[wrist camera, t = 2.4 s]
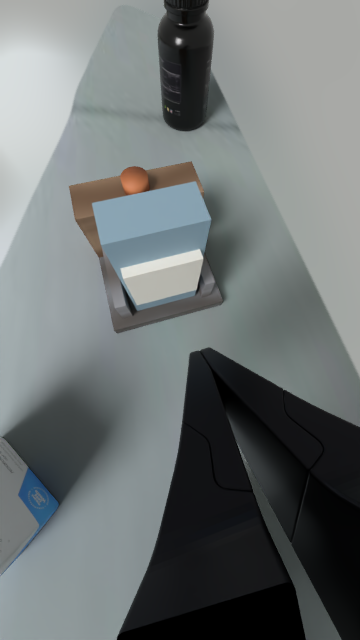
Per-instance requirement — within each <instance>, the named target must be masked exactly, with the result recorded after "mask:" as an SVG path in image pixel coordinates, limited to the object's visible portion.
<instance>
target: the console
mask: <svg viewBox="0 0 360 640" xmlns="http://www.w3.org/2000/svg"><path fill="white" fill-rule="evenodd" d="M195 181H196V183H197V186H198V188H199V191H200V193H201V195H202V198H203V196H204V190H203V188H202V185H201V183H200V181H199V178H198V176H197V173H196V171H195V169H194V166H193V164H192V161H191V162H186V163H181V164H176V165H171V166H166V167H161V168H156V169H151V170H146V171H145V170H144V169H143V168H141V167H135V166H134V167H129V168H127V169H125V170H124V171H123V172H122V173H121V176H116V177H111V178H106V179H101V180H96V181H91V182H86V183H81V184H76V185H71V186H69V189H70V194H71V200H72V205H73V211H74V216H75V220H76V222H77V223H78V225H79V227H80V228H81V230H82V231H83V233H84V235H85V236H86V238H87V239H88V241H89V243H90V244H91V246H92V247H93V249H94V251H95V252H96V254H97V255H98V257H99V260H100V265H101V270H102V275H103V279H104V284H105V289H106V294H107V298H108V303H109V308H110V313H111V318H112V322H113V327H114V331H115V332H116V333H120V332H124V331H127V330H131V329H135V328H138V327H142V326H146V325H149V324H153V323H157V322H160V321H164V320H167V319H171V318H175V317H178V316H182V315H186V314H189V313H193V312H197V311H200V310H204V309H208V308H211V307H215V306H218V305H221V304H222V302H223V299H222V297H221V294H220V291H219V289H218V286H217V284H216V281H215V278H214V276H213V273H212V270H211V268H210V265H209V262H208V260H207V257H206V254H205V252H204V256H203V263H202V268H201V272H200V277H199V281H198V286H197V290H196V293H195V296H192V297H188V298H184V299H181V300H177V301H173V302H169V303H166V304H162V305H158V306H154V307H151V308H147V309H143V310H139V311H137V309H136V307H135V306H134V304H133V302H132V300H131V298H130V297H129V295H128V293H127V291H126V289H125V288H124V286H123V284H122V282H121V280H120V279H119V277H118V275H117V273H116V272H115V270H114V268H113V266H112V264H111V263H110V261H109V259H108V257H107V255H106V254H105V252H104V250H103V248H102V246H101V244H100V239H99V234H98V230H97V225H96V220H95V216H94V211H93V206H92V203H95V202H99V201H104V200H109V199H114V198H118V197H123V196H128V195H133V194H137V193H142V192H147V191H152V190H156V189H161V188H166V187H171V186H175V185H180V184H185V183H190V182H195Z"/></svg>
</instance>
